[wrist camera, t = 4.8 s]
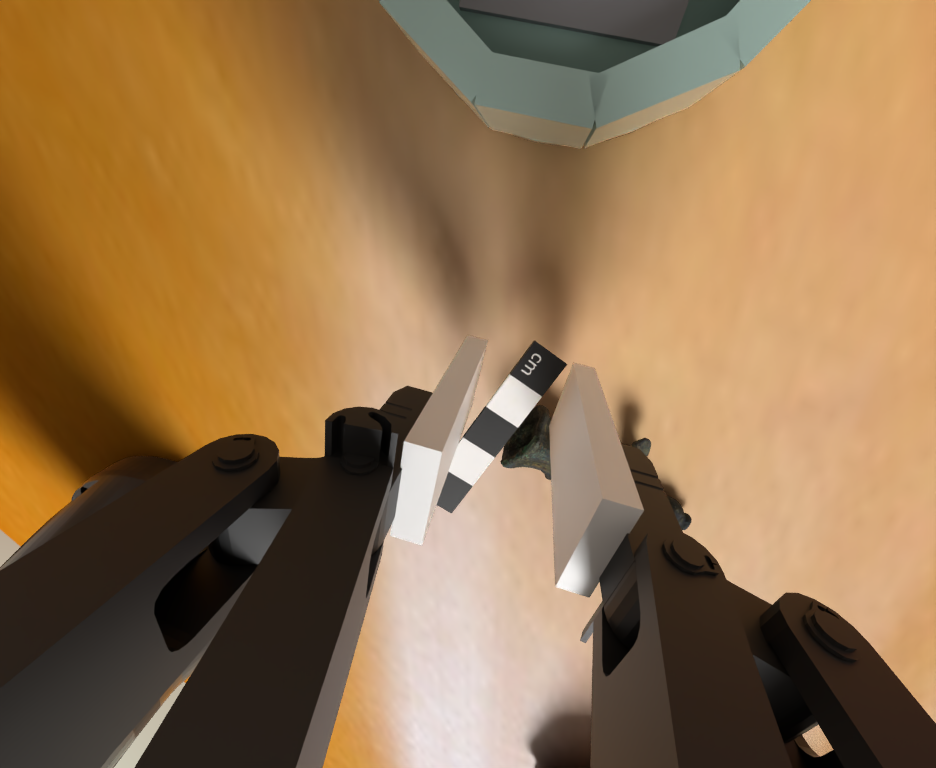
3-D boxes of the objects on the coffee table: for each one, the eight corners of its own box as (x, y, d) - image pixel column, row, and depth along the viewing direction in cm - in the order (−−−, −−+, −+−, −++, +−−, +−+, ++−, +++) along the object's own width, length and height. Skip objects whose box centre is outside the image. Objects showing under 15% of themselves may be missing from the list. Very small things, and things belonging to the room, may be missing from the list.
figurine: (535, 341, 10) (792, 527, 13) (512, 327, 14) (712, 471, 17) (420, 495, 12) (673, 641, 14) (428, 443, 16) (625, 564, 18)
